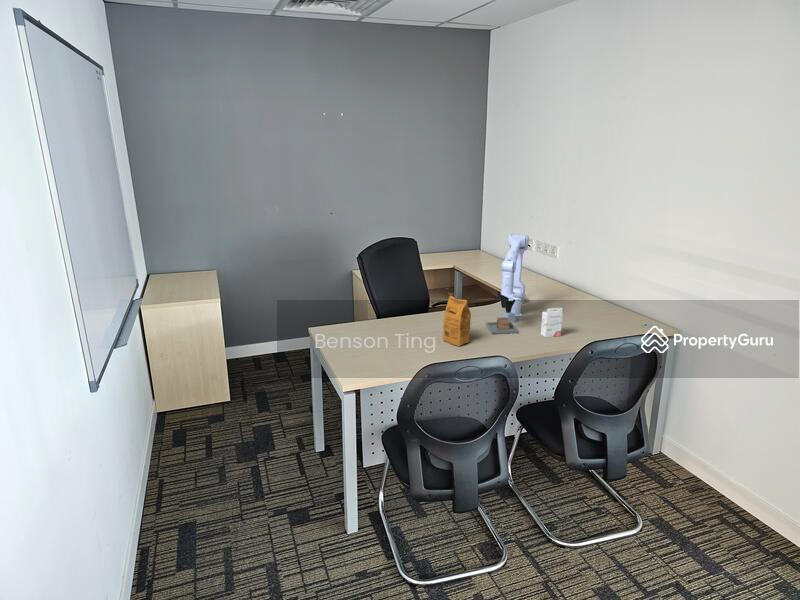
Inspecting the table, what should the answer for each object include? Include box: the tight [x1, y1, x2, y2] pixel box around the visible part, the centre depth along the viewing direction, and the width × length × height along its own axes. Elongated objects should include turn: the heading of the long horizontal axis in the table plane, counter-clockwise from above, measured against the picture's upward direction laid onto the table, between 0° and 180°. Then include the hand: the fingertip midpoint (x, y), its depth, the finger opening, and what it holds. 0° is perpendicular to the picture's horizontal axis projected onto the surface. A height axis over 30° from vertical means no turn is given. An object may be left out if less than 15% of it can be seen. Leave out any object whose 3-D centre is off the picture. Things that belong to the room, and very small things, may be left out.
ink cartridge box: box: [540, 307, 564, 338], centre depth 256 cm, size 9×5×15 cm, turn 101°
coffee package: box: [442, 295, 472, 347], centre depth 247 cm, size 10×12×22 cm
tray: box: [485, 321, 519, 335], centre depth 266 cm, size 13×13×2 cm
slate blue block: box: [502, 312, 516, 323], centre depth 277 cm, size 4×4×4 cm
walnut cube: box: [496, 316, 509, 330], centre depth 265 cm, size 5×5×5 cm
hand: (506, 310), depth 264 cm, fingers open, 7 cm apart
